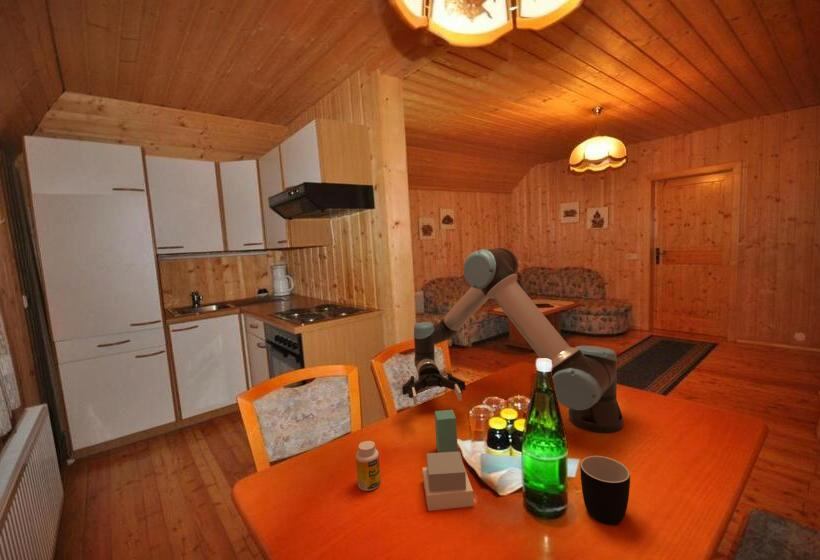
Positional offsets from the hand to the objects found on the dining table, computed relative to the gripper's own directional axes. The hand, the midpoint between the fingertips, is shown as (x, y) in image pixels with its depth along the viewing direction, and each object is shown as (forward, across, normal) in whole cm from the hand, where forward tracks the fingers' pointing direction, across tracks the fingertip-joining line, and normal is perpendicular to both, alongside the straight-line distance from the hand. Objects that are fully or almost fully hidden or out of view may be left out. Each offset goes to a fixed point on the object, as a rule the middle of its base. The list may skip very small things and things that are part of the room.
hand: (437, 398), depth 110 cm
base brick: (+26, +2, -11) cm, 29 cm away
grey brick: (+26, +3, -7) cm, 27 cm away
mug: (+36, -28, -11) cm, 47 cm away
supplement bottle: (+20, +20, -11) cm, 31 cm away
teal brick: (+10, 0, -11) cm, 15 cm away
